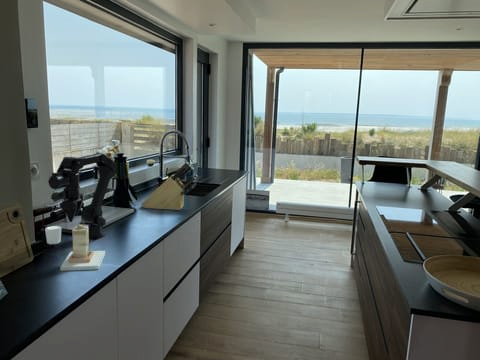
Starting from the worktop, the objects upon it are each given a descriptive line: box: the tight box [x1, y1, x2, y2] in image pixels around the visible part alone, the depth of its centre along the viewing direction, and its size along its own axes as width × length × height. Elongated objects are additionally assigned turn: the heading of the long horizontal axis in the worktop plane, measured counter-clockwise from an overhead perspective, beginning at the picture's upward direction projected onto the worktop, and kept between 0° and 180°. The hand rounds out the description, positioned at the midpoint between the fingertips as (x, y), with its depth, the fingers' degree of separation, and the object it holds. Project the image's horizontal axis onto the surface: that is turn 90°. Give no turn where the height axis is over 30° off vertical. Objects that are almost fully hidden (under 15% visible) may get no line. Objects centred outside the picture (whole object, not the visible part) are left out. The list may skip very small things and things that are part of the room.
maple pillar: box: [71, 224, 90, 258], centre depth 149 cm, size 5×5×14 cm
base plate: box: [60, 250, 106, 272], centre depth 151 cm, size 16×14×3 cm
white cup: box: [44, 225, 62, 245], centre depth 171 cm, size 7×7×7 cm
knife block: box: [140, 161, 198, 211], centre depth 238 cm, size 11×35×31 cm, turn 88°
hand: (73, 218), depth 165 cm, fingers open, 9 cm apart
